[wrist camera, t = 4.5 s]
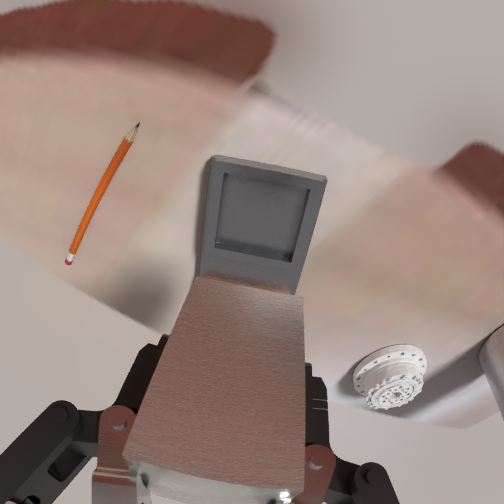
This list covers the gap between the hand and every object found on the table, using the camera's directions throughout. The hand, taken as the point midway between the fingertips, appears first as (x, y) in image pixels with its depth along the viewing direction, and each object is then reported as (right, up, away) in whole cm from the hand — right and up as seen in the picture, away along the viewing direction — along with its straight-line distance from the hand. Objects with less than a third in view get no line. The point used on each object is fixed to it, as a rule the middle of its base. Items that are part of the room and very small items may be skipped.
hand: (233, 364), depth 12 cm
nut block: (0, +1, +2) cm, 2 cm away
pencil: (-14, +10, +15) cm, 23 cm away
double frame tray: (+1, +3, +17) cm, 17 cm away
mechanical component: (+18, -10, +23) cm, 31 cm away
